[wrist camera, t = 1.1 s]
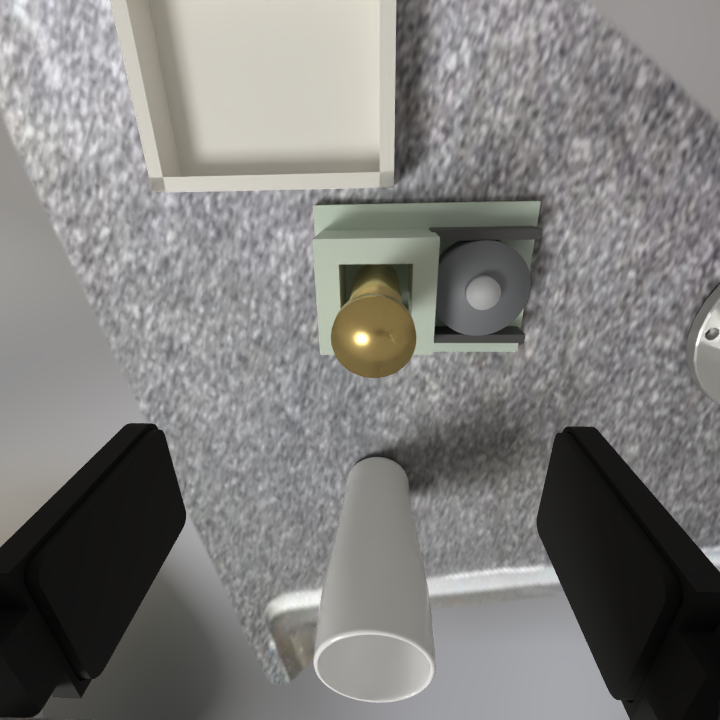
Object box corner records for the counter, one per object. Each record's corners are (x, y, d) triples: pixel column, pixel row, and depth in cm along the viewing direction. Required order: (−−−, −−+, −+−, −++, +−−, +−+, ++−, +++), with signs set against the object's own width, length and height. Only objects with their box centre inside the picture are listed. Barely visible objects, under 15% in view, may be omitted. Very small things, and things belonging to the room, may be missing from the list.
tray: (395, -48, 20) (397, -82, 18) (392, 186, 25) (393, 187, 22) (133, -33, 21) (95, -64, 18) (176, 190, 26) (152, 192, 23)
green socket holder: (536, 200, 25) (568, 205, 21) (513, 347, 29) (536, 377, 25) (315, 204, 26) (301, 210, 21) (324, 346, 30) (314, 375, 26)
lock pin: (406, 254, 26) (418, 297, 17) (404, 310, 28) (414, 378, 18) (348, 255, 26) (328, 298, 17) (349, 310, 28) (332, 377, 18)
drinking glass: (378, 432, 33) (373, 613, 19) (432, 479, 35) (464, 675, 21) (323, 476, 35) (285, 665, 22) (377, 518, 37) (373, 717, 23)
